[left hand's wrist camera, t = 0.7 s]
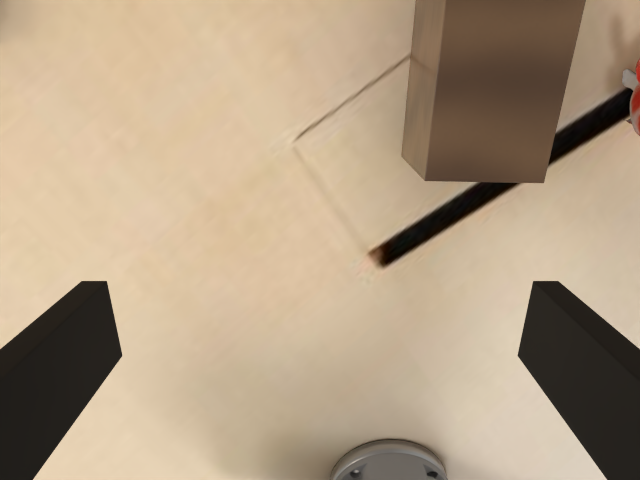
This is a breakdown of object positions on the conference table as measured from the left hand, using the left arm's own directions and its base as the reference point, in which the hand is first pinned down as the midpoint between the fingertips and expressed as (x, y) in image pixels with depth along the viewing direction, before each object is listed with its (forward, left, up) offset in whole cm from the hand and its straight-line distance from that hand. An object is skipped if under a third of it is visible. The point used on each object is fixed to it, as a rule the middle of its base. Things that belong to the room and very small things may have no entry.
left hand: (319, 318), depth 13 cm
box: (+12, -12, -27) cm, 32 cm away
